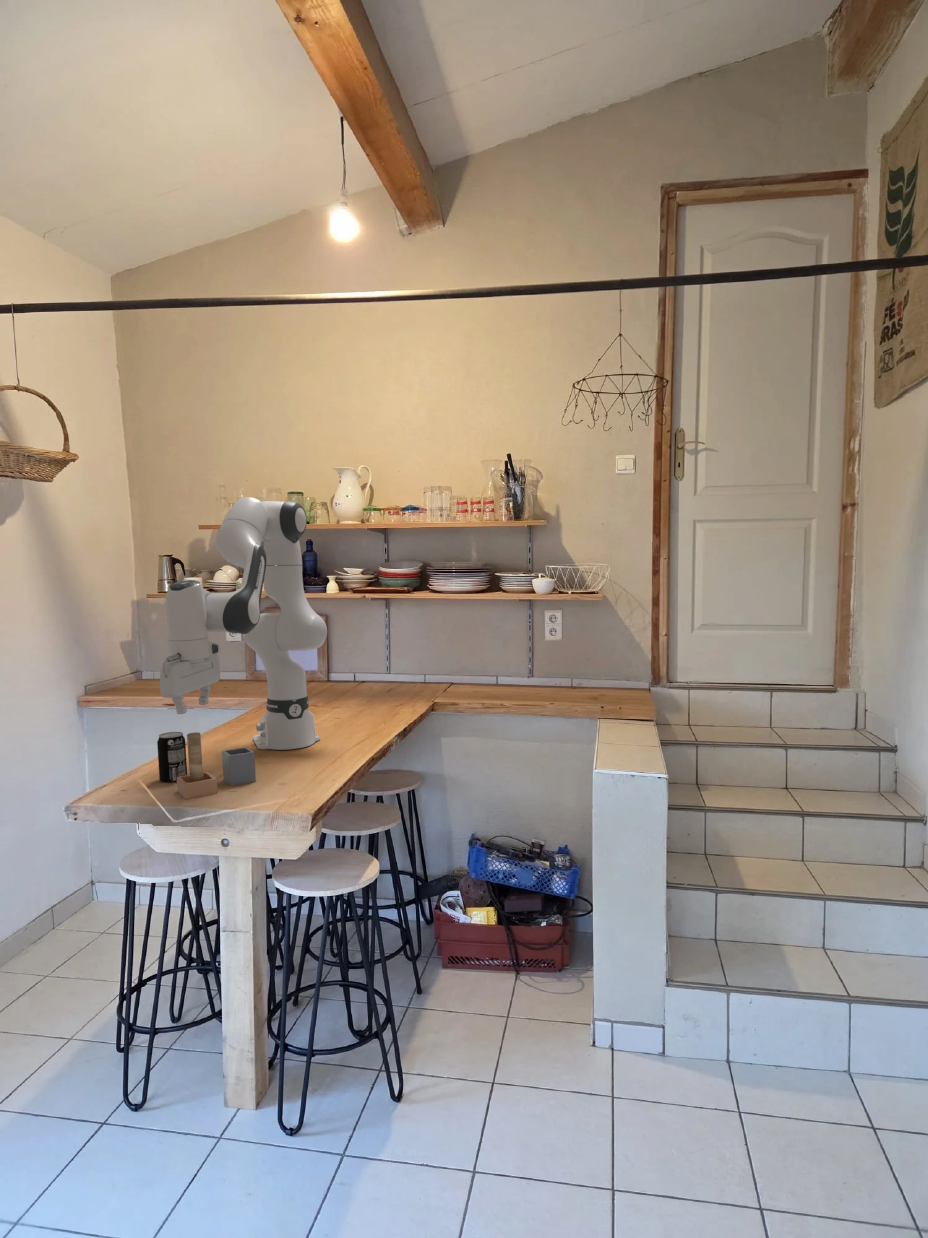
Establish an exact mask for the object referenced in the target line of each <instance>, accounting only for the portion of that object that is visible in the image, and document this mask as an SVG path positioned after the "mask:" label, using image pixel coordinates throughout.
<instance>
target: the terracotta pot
mask: <svg viewBox="0 0 928 1238" xmlns="http://www.w3.org/2000/svg"><path fill="white" fill-rule="evenodd" d="M176 789H177V790H176V791H177V793H178V794H179V795H180V796H181V798H183V799H184V800H188V799H193V798H199V797H204V796H208V795H209V796H210V795H216V794H218V781H217V778H216V776H214V775H213V774H211V773H210V771H205V772H204V771H203V780H202V781H197V782H191V783H190V774H187V775H186V776H180V777H177V782H176Z"/></svg>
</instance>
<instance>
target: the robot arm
mask: <svg viewBox="0 0 928 1238" xmlns="http://www.w3.org/2000/svg"><path fill="white" fill-rule="evenodd" d="M307 520H308V519H307V513H306V510H305V509H304V508H303V506H302V505H301V504H300V503H299V502H297V501H296V502H295V501H291V500H285V501H281V500H265V501H261V500H259V499H257V498H255V497H251V496H250V497H249V496H245V497H241V498H239V499H237V500H236V501H235V502H234V504H233V505H232V506H231V508H230V509H229V510H228V511H227V513H226V515H225V516H224V518H223V520H222V523H221V525H220V527H219V529H218V531H217V533H216V537H215V546H216V547H215V548H216V549H217V552H218V553H219V554H220V556H221V557H222V558H223V559H224V560H225V561H226V562H227V563H229V564H231V565H233V566H235V567H239V568H241V569H243V575H242V579H241V583H240V587H239V588H238V589H237V590H234V591H230V592H212V591H211V592H210V591H209V590H206V589H204V587H203V584H202V582H201V581H200V580H196V579H193V580H192V579H189V580H188V579H186V580H181V581H177V582H174V583H171V584H170V585H169V586H168V588H167V592H166V598H165V601H166V602H165V613H166V614H165V615H166V623H167V625H168V629H169V630H168V631H169V632H168V637H167V639H168V641H167V643H168V656H166V657H165V660H164V662H162V665H161V668H160V673H159V675H160V676H159V691H160V692H159V693H160V695H161V697H162V698H166V699H167V698H168V699H172V700H171V701H172V702H173V704H174V706H175V710H176V714H177V715H184V714H186V713H188V709H187V707H188V706H187V705H185V704H184V699H185V697H184V695H186V694H189V693H192V692H194V691H197V690H200V695H199V696H200V697H198V705H199V706H205V705H208V704H209V703H210V702H209V696H210V692H211V691H212V690H211V688H212V687H211V685H213V684H216V683H219V682H220V681H219V680H220V679H221V661H220V656H219V653H220V652H221V647H220V646H221V645H220V644H219V643H215V642H212V641H209V635H208V633H231V634H241V635H242V637H243V641H244V642H245V644H246V645H247V646H248V647H249V648H251V649H252V650H253V651H254V653H256V655H257V656H258V657H259V658H260V661H261V663H262V665H263V667H264V670H265V675H266V683H267V693H268V695H267V696H268V698H266V699H267V700H266V708H265V709H266V712H265V713H264V715H263V716H262V718H261V719H260V722H258V723H256V725H255V726H256V727H255V728H256V729H255V730H256V732H260V733H258V734H255V735H252V740H253V742H254V744H255V745H256V748H257V749H258V750H278V751H279V750H280V751H281V750H284V751H285V750H297V749H302V748H305V747H309V746H312V745H314V744H315V743H316V742H318V741H320V740H321V736H320V735H318V734H316V727H315V725H316V724H315V717H314V716H315V715H314V712H313V713H312V711H310V709H309V708H310V704H309V703H310V700H309V695H308V694H307V692H308V691H307V673H306V671H305V668H304V667H303V666H302V665H300V664H299V663H298V662H296V661H294V659H293V658H292V657H291V655H290V653H289V651H294V652H295V651H299V652H300V651H301V652H302V651H303V652H304V651H310V650H311V651H312V650H315V649H319V648H321V647H322V646H323V645H324V643H325V641H326V640H327V637H328V627H327V624H326V622H325V620H324V618H323V617H322V616H321V615H320V614H318V613H317V612H316V611H315V610H314V609H313V608H312V606H311V605H310V603H309V601H308V599H307V596H306V594H305V590H304V589H305V588H304V580H303V559H302V551H301V549H302V548H301V545H300V544H301V543H300V538H302V536H303V535H304V533H305V531H306V529H307V523H308V521H307ZM262 542H264V543H263V546H262ZM263 591H264V593H265V595H266V596H267V597H269V598H270V599H272V600H273V601H275V602H276V603H277V605H279V608H280V611H281V612H264V613H261V601H262V593H263Z"/></svg>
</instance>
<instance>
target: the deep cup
mask: <svg viewBox="0 0 928 1238" xmlns="http://www.w3.org/2000/svg"><path fill="white" fill-rule="evenodd" d="M221 757H222V760H221V761H222V776H223V779H222V780H223V781H224V783H226V784H227V785H228V786H230V787H234V786H239V785H246V784H251V783H255V782H257V779H256V757H255V751H253V750H252V749H251V748H249V747H248V746H244V747H238V748H231V749H226V750H222V751H221Z"/></svg>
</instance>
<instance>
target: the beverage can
mask: <svg viewBox="0 0 928 1238" xmlns="http://www.w3.org/2000/svg"><path fill="white" fill-rule="evenodd" d="M156 743H157V759H158V760H157V761H158V774H159V775H158V776H159V777H158V779H159V782H161V783H170V784H172V783H177V777H180V776H186V775H188V767H187V766H188V765H187V747H186V744H187V743H186V738H185V736H184V733H183V732H181V731H168V732H164V733H160V734H158V739H157V742H156Z"/></svg>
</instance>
